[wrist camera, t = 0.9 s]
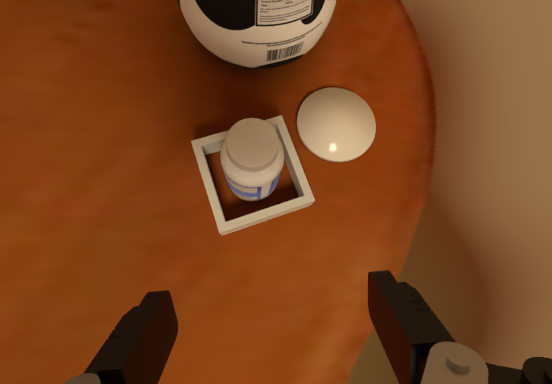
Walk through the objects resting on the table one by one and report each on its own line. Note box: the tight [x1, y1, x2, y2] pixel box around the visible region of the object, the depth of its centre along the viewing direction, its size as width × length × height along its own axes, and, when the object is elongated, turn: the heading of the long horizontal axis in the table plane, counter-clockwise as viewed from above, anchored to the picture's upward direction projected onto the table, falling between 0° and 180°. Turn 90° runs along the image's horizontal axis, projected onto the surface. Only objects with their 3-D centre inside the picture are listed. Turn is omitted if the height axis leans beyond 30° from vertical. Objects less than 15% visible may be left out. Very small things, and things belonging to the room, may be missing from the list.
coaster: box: [297, 87, 376, 162], centre depth 33 cm, size 9×9×1 cm
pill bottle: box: [220, 118, 284, 201], centre depth 26 cm, size 5×5×10 cm
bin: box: [191, 115, 315, 236], centre depth 30 cm, size 10×10×2 cm
